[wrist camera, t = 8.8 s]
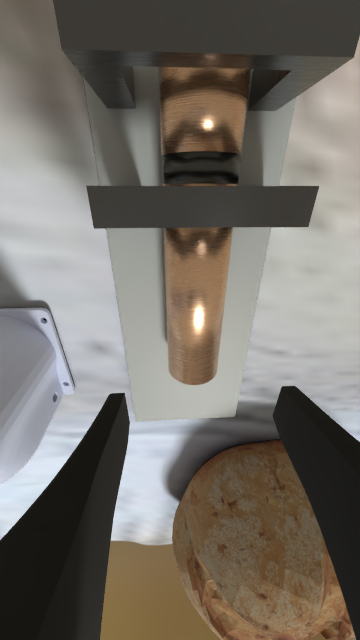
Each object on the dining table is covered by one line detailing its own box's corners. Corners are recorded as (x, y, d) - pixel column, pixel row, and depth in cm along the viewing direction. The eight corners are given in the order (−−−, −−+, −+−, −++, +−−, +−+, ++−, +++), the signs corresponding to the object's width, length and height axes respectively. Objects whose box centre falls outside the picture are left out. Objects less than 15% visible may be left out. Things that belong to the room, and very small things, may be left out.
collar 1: (275, 111, 12) (353, 57, 7) (107, 108, 12) (62, 49, 7) (281, 72, 12) (374, -20, 6) (102, 67, 11) (47, -35, 6)
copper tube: (207, 348, 21) (225, 380, 17) (164, 355, 20) (174, 389, 17) (229, 68, 12) (275, 20, 8) (151, 59, 11) (167, 2, 7)
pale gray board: (233, 412, 26) (234, 417, 25) (136, 416, 25) (135, 421, 25) (304, 27, 11) (310, 20, 11) (77, 20, 11) (73, 12, 10)
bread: (266, 524, 44) (308, 666, 31) (150, 512, 38) (142, 677, 26) (368, 448, 32) (507, 628, 19) (220, 415, 26) (272, 635, 14)
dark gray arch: (258, 212, 15) (308, 226, 10) (119, 213, 14) (93, 228, 9) (263, 185, 14) (319, 186, 9) (116, 185, 14) (86, 185, 9)
